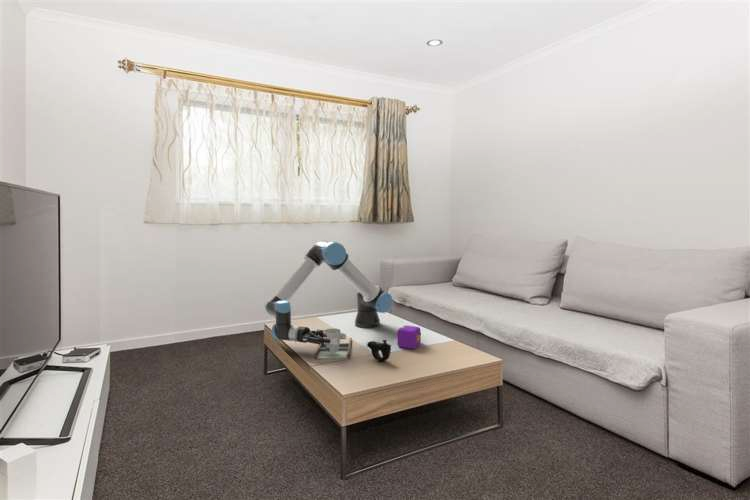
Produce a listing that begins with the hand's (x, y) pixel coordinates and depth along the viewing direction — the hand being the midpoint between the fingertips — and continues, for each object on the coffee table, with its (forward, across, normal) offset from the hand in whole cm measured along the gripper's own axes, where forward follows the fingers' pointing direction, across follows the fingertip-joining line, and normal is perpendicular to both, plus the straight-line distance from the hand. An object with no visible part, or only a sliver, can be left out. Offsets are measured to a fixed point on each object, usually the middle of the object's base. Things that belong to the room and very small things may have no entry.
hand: (341, 339), depth 195 cm
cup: (-5, 0, -7) cm, 8 cm away
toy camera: (+25, -26, -8) cm, 37 cm away
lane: (-8, -8, -8) cm, 14 cm away
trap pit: (-9, -8, -8) cm, 14 cm away
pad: (-5, 0, -8) cm, 10 cm away
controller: (+19, -1, -8) cm, 21 cm away
